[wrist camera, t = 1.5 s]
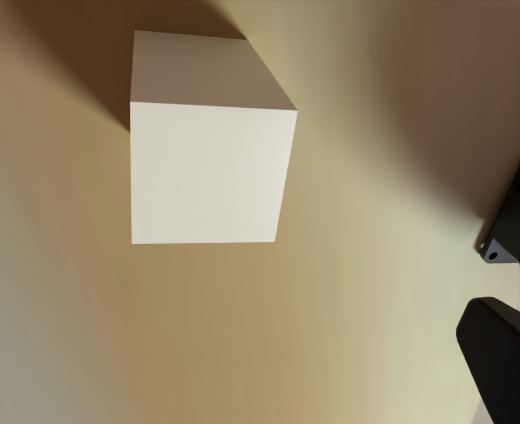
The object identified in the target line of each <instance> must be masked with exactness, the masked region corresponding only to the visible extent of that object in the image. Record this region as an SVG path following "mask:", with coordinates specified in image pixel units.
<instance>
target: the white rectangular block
mask: <svg viewBox="0 0 520 424" xmlns="http://www.w3.org/2000/svg"><path fill="white" fill-rule="evenodd" d="M297 112H298V110H297V109H296V107H295V106H294V105H293V103H292V102H291V100H290V99H289V98H288V96H287V95H286V93H285V92H284V90H283V89H282V88H281V86H280V85H279V83H278V82H277V81H276V79H275V78H274V76H273V75H272V73H271V72H270V71H269V69H268V68H267V66H266V65H265V64H264V62H263V61H262V59H261V58H260V56H259V55H258V54H257V52H256V51H255V49H254V48H253V47H252V45H251V44H250V42H249V41H248V40H243V39H231V38H220V37H209V36H197V35H186V34H174V33H163V32H151V31H140V30H135V32H134V48H133V64H132V80H131V96H130V130H131V210H132V244H146V243H222V242H275V236H276V230H277V225H278V219H279V213H280V208H281V202H282V197H283V191H284V185H285V180H286V174H287V168H288V163H289V157H290V152H291V146H292V140H293V135H294V129H295V123H296V118H297Z"/></svg>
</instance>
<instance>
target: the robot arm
mask: <svg viewBox="0 0 520 424" xmlns="http://www.w3.org/2000/svg"><path fill="white" fill-rule="evenodd" d="M480 257H481V258H482V259H483V260H484V261H485V262H486V263H519V264H520V167H519V169H518V171H517V173H516V175H515V177H514V180H513V182H512V184H511V186H510V188H509V191H508V193H507V195H506V197H505V199H504V202H503V204H502V206H501V208H500V210H499V212H498V215H497V217H496V219H495V221H494V223H493V226H492V228H491V230H490V232H489V234H488V237H487V239H486V241H485V243H484V245H483V248H482V250H481V252H480ZM456 337H457V341H458V344H459V346H460V348H461V351H462V353H463V355H464V358H465V360H466V362H467V365H468V367H469V369H470V372H471V374H472V376H473V379H474V381H475V383H476V386H477V388H478V390H479V393H480V395H481V397H482V400H483V402H484V404H485V406H486V409H487V411H488V413H489V415H490V417H491V419H492V421H493V423H494V424H520V312H519V311H518V310H516V309H514V308H512V307H511V306H509V305H507V304H505V303H503V302H502V301H500V300H498V299H496V298H494V297H479V298H473V299H471V300H470V301H469V302H468V304H467V306H466V308H465V311H464V313H463V315H462V317H461V319H460V321H459V323H458V326H457V328H456Z"/></svg>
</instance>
